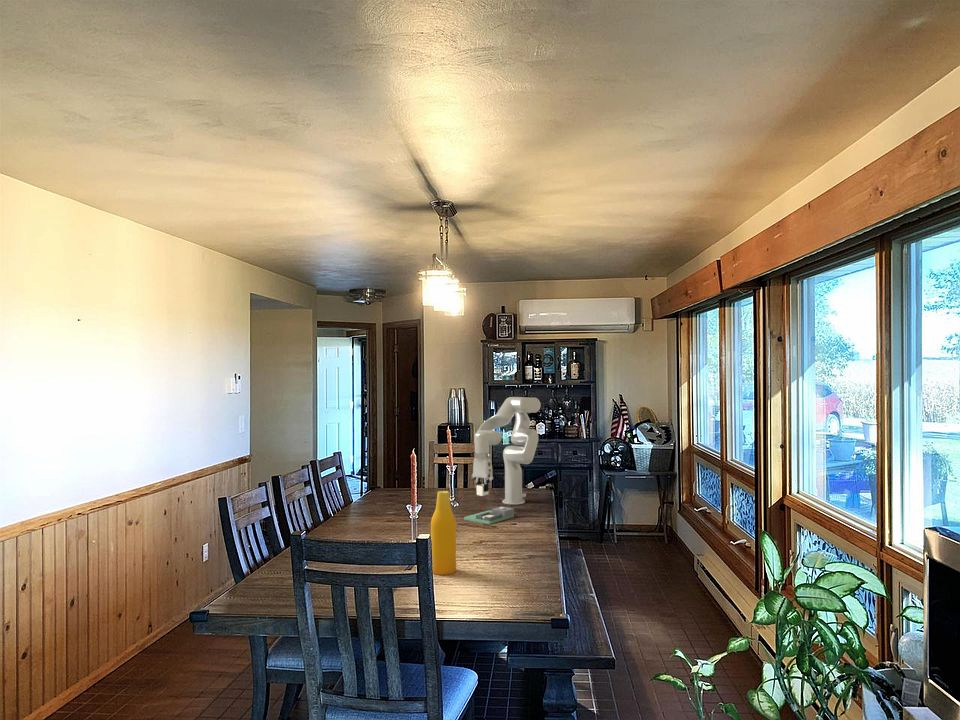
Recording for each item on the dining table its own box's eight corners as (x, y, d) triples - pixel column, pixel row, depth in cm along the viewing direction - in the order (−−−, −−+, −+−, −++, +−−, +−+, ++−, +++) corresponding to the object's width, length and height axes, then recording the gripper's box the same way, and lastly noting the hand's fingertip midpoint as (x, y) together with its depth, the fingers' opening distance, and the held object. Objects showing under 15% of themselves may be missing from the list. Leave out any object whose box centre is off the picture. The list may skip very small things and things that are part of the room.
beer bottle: (442, 566, 240) (442, 488, 241) (461, 570, 234) (461, 491, 235) (425, 572, 233) (425, 492, 234) (444, 577, 227) (444, 495, 228)
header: (488, 515, 320) (488, 511, 320) (501, 517, 315) (501, 514, 315) (476, 518, 313) (476, 515, 313) (489, 521, 307) (489, 517, 307)
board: (489, 512, 332) (489, 510, 332) (514, 516, 321) (514, 514, 321) (464, 519, 316) (464, 517, 316) (489, 524, 306) (489, 521, 306)
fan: (501, 512, 326) (501, 505, 327) (514, 514, 321) (514, 507, 321) (491, 515, 320) (491, 507, 320) (504, 517, 315) (504, 510, 315)
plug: (482, 493, 337) (482, 483, 337) (488, 494, 335) (488, 483, 335) (476, 494, 333) (476, 484, 333) (482, 495, 331) (482, 485, 331)
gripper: (499, 456, 332) (499, 491, 332) (474, 453, 342) (475, 487, 342) (490, 458, 326) (490, 494, 326) (465, 455, 336) (465, 490, 336)
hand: (482, 490), depth 334 cm, fingers closed on plug, 4 cm apart
